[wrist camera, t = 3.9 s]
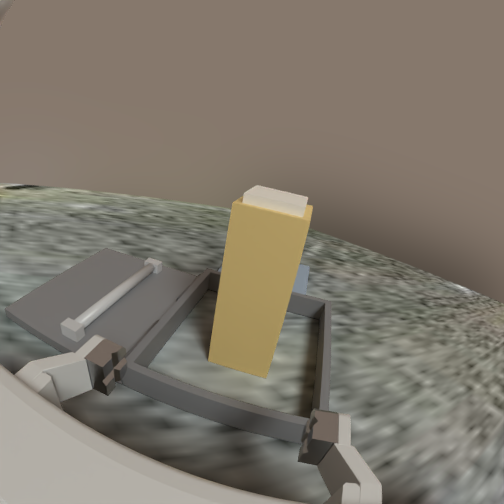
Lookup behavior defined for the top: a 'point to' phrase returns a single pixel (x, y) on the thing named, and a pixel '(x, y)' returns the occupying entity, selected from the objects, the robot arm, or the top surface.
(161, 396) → the case
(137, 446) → the top surface
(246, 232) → the block
